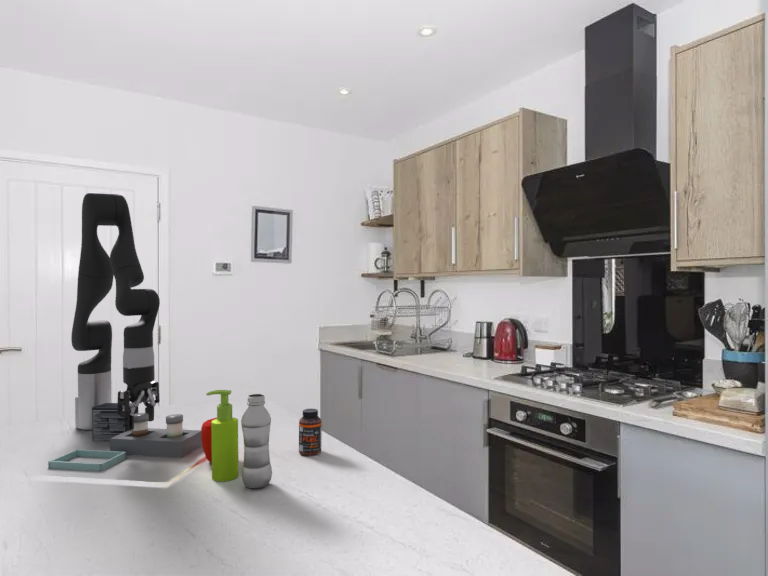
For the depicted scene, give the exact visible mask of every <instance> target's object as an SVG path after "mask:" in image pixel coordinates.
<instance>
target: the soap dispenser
mask: <svg viewBox="0 0 768 576" xmlns="http://www.w3.org/2000/svg"><path fill="white" fill-rule="evenodd" d="M231 394H232V390H231V389H230V390H229V389H215V390H211V391H208V392H207V393H206V394H205V395H206V396H212V395H220V403H219V404H218V405H217V406H216V418H217V419H214V420H212V422H211V430H212V463H211V479H212V480H213V481H215V482H218V483H219V482H222V483H224V482H229V481H230V482H231V481H233V480H235V479H237V478H238V477H239V473H240V472H239V419H238V418H237V417H234V416H233V404H232V403H230V402H229V396H230V395H231Z"/></svg>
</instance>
